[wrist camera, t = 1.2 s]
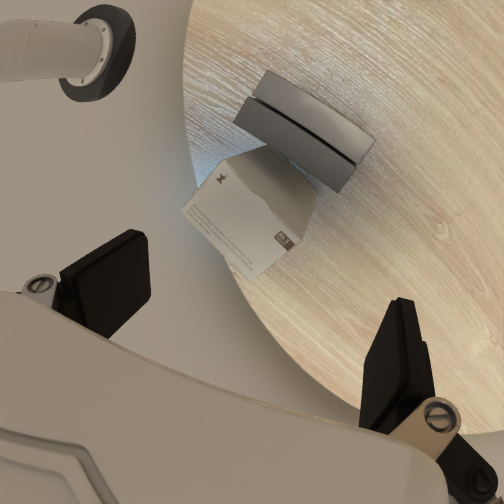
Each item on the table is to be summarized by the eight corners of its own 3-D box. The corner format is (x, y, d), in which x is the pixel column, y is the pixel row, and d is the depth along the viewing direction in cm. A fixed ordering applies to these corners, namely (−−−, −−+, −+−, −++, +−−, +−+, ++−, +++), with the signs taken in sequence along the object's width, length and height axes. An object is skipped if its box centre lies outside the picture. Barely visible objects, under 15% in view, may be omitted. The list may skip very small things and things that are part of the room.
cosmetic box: (238, 175, 36) (171, 210, 23) (272, 140, 33) (218, 154, 20) (286, 225, 37) (246, 287, 24) (323, 193, 34) (302, 242, 21)
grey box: (268, 121, 32) (232, 122, 23) (292, 84, 30) (265, 68, 20) (342, 171, 32) (337, 193, 23) (369, 134, 29) (377, 140, 20)
